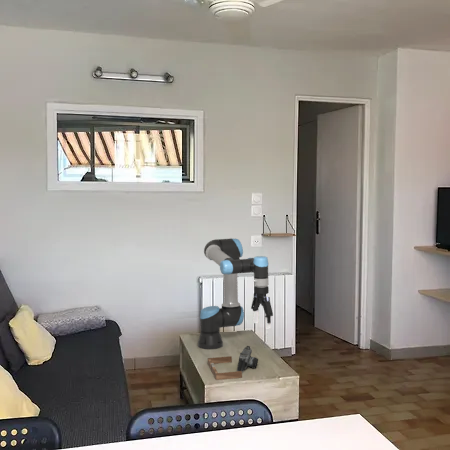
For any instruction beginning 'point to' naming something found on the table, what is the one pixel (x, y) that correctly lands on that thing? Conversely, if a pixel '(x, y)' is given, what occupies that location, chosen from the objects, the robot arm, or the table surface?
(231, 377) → the dock
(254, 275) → the robot arm
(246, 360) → the camera
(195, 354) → the table surface
